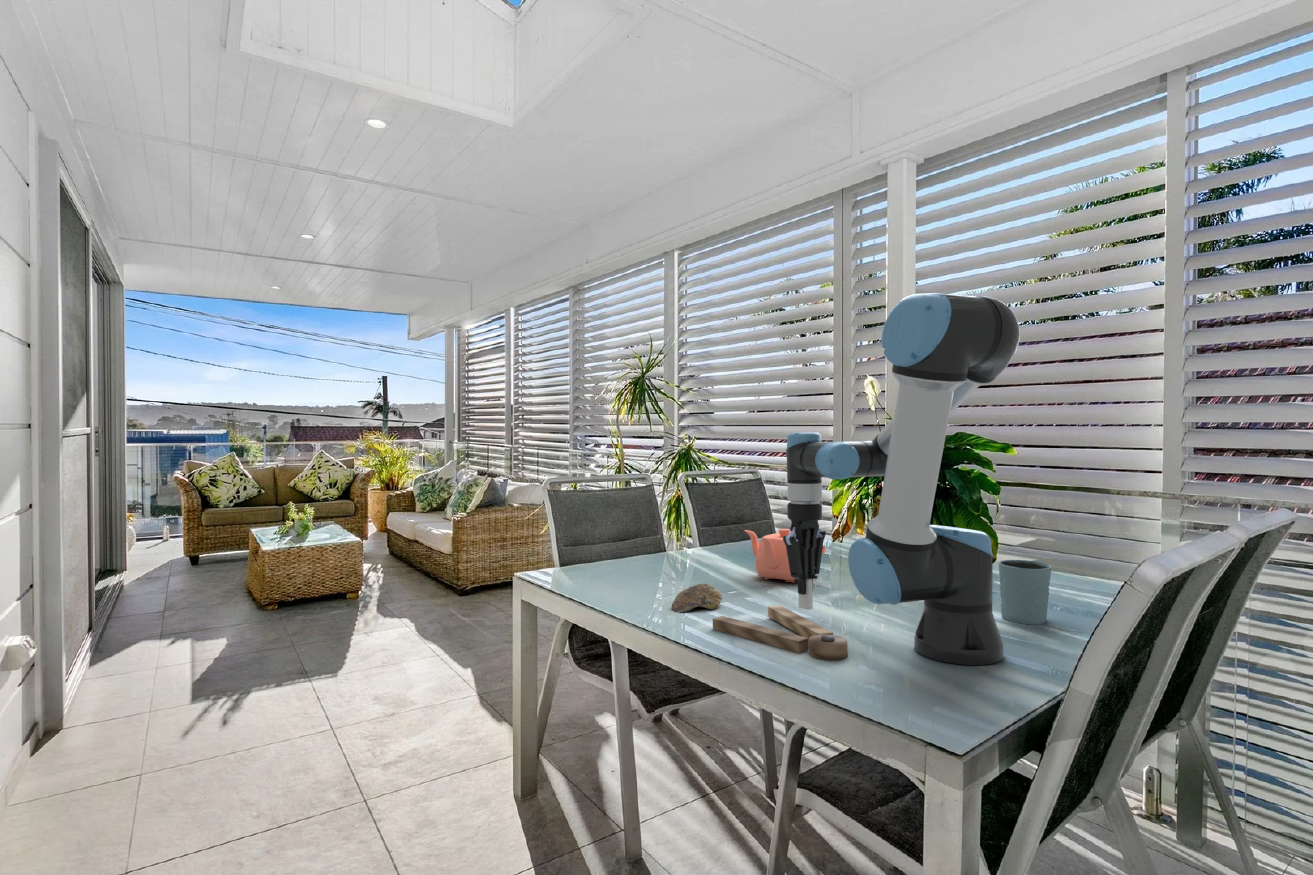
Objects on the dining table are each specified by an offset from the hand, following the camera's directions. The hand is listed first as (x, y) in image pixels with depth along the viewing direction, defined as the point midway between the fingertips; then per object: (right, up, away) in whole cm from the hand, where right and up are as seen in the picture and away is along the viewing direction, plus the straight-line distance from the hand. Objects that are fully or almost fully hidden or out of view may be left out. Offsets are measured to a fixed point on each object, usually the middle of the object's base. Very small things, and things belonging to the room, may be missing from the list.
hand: (805, 607), depth 153 cm
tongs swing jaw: (-4, -2, -10) cm, 11 cm away
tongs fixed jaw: (-9, -2, -17) cm, 19 cm away
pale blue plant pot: (+47, -2, -4) cm, 47 cm away
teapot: (+2, -2, +40) cm, 40 cm away
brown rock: (-24, -3, +10) cm, 26 cm away
